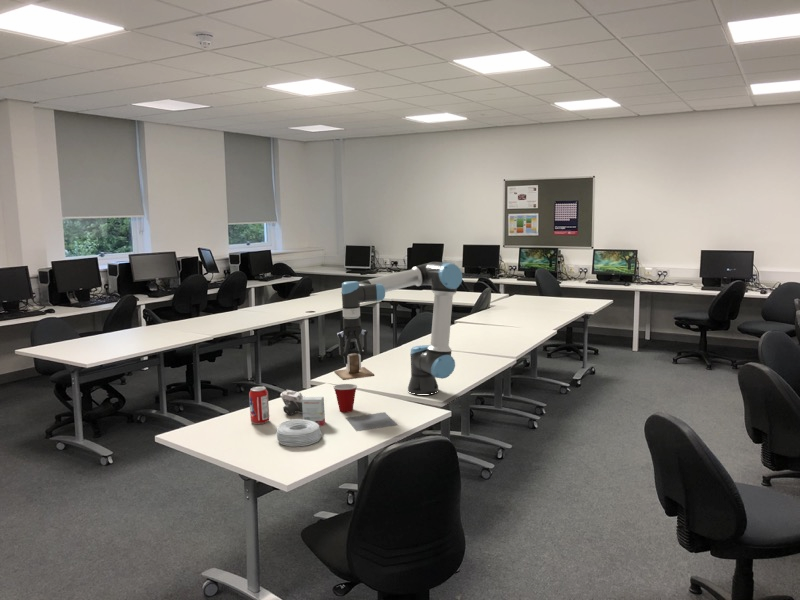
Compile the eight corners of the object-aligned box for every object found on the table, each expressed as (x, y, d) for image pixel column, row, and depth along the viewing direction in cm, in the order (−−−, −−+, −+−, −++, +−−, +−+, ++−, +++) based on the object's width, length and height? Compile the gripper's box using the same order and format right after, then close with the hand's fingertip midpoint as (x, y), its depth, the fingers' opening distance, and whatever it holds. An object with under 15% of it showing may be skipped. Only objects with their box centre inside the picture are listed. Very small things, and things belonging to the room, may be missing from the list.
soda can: (266, 425, 255) (264, 390, 253) (248, 425, 255) (246, 391, 253) (271, 418, 262) (269, 385, 260) (253, 419, 263) (251, 385, 261)
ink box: (325, 423, 255) (324, 396, 254) (323, 426, 251) (321, 399, 249) (305, 422, 256) (304, 396, 255) (303, 426, 252) (301, 399, 250)
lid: (364, 368, 271) (363, 349, 270) (374, 376, 258) (373, 356, 257) (334, 372, 266) (333, 353, 265) (343, 380, 253) (342, 359, 252)
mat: (384, 413, 266) (384, 412, 266) (398, 426, 249) (398, 425, 249) (345, 418, 260) (345, 417, 260) (356, 432, 243) (356, 431, 243)
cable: (282, 432, 246) (281, 418, 246) (324, 431, 246) (324, 417, 245) (272, 448, 229) (271, 433, 228) (317, 448, 228) (316, 432, 228)
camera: (292, 403, 279) (283, 386, 275) (314, 409, 268) (305, 390, 264) (278, 416, 273) (269, 398, 269) (300, 422, 263) (291, 403, 259)
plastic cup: (359, 407, 275) (358, 381, 274) (357, 414, 265) (356, 388, 263) (335, 407, 276) (334, 382, 274) (332, 415, 265) (331, 389, 263)
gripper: (334, 320, 252) (336, 374, 255) (373, 316, 258) (375, 369, 261) (329, 317, 259) (332, 370, 262) (368, 314, 265) (370, 365, 268)
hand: (353, 369), depth 262 cm, fingers closed on lid, 4 cm apart
